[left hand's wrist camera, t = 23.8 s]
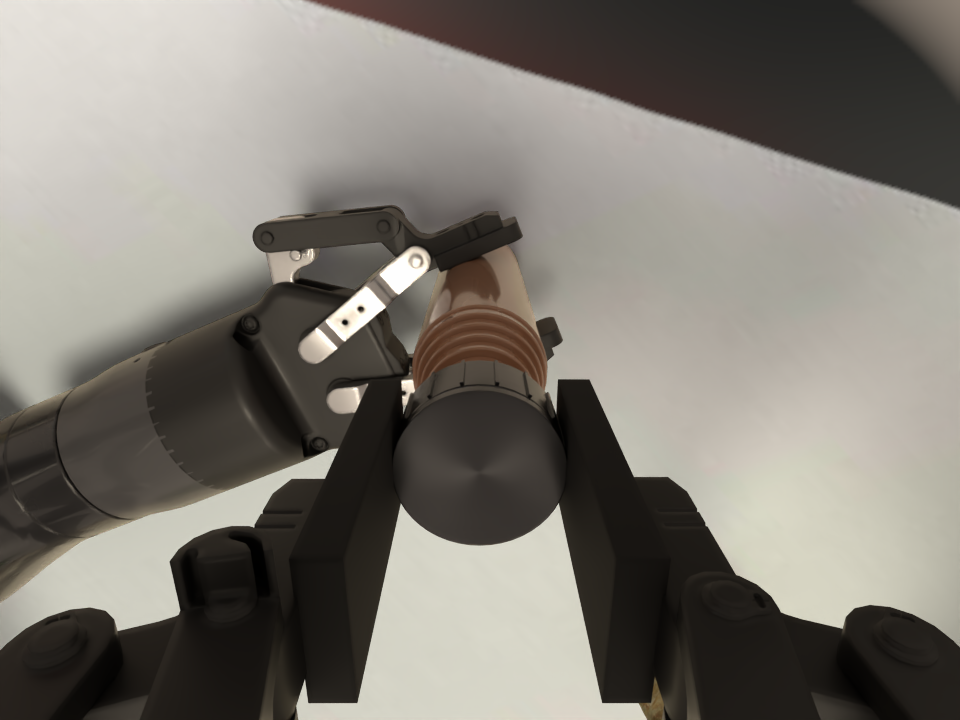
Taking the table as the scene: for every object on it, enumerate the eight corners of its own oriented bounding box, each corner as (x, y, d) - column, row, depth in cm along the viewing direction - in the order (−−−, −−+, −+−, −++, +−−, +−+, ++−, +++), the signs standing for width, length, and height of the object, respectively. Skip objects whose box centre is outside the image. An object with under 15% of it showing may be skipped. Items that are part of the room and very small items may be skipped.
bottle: (425, 283, 32) (353, 470, 14) (469, 217, 31) (455, 329, 13) (489, 325, 33) (500, 555, 15) (534, 264, 32) (609, 431, 14)
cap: (480, 526, 16) (480, 575, 14) (367, 432, 15) (352, 473, 13) (591, 432, 15) (607, 472, 13) (479, 324, 14) (479, 353, 12)
